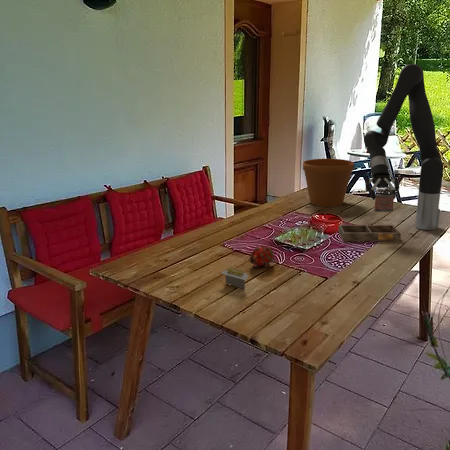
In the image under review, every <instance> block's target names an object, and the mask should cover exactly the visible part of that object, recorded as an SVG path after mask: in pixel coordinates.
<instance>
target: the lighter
mask: <svg viewBox="0 0 450 450" xmlns="http://www.w3.org/2000/svg"><path fill="white" fill-rule="evenodd" d="M391 193H392V189H387V188H377V193H375V201H374V208H373V211H374V212H376V213H377V212H378V213H392V212H394V201H395V199H394V196H395V195H394V194H391Z"/></svg>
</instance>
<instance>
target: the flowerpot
mask: <svg viewBox="0 0 450 450" xmlns="http://www.w3.org/2000/svg"><path fill="white" fill-rule="evenodd" d="M302 170H303V172H304V176H305V181H306V187H307V192H308V197H309V203H310V204H311V203H312V204H311V205H313V204H314V205H313V206H316V205H317V207H325V208H332V207H339V206H342V205H343V203H344V200H345V197H346V193H347V189H348V186H349V183H350V179H351V176H352V172H353V171H354V161H351V160H350V159H349V160H348V159H343V158H342V159H340V158H312V159H307V160H304V161H303V162H302Z"/></svg>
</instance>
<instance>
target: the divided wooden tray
mask: <svg viewBox="0 0 450 450" xmlns="http://www.w3.org/2000/svg"><path fill="white" fill-rule="evenodd" d="M338 232H339V233H338V235H339V236H340V238H341V241H342V242H401V232H400V231H399V230H398V229H397V228H396V226H394V225H393V224H338Z"/></svg>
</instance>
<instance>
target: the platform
mask: <svg viewBox="0 0 450 450" xmlns="http://www.w3.org/2000/svg"><path fill="white" fill-rule="evenodd" d="M244 271H245V270H244V269H241V268H237V267H234V266H228V267H227V269H226V270H222V272H221V274H223V275H225V284H226V283H228V284H231V285H233V286H232V287H234V286H236V287H235V288H238V287H239V288H238V289H241V288H243V289H242V290H245V287H246V285H245V284H246V280H248V277H249V276H248V273H246V272H244ZM231 285H230V286H231Z"/></svg>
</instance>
